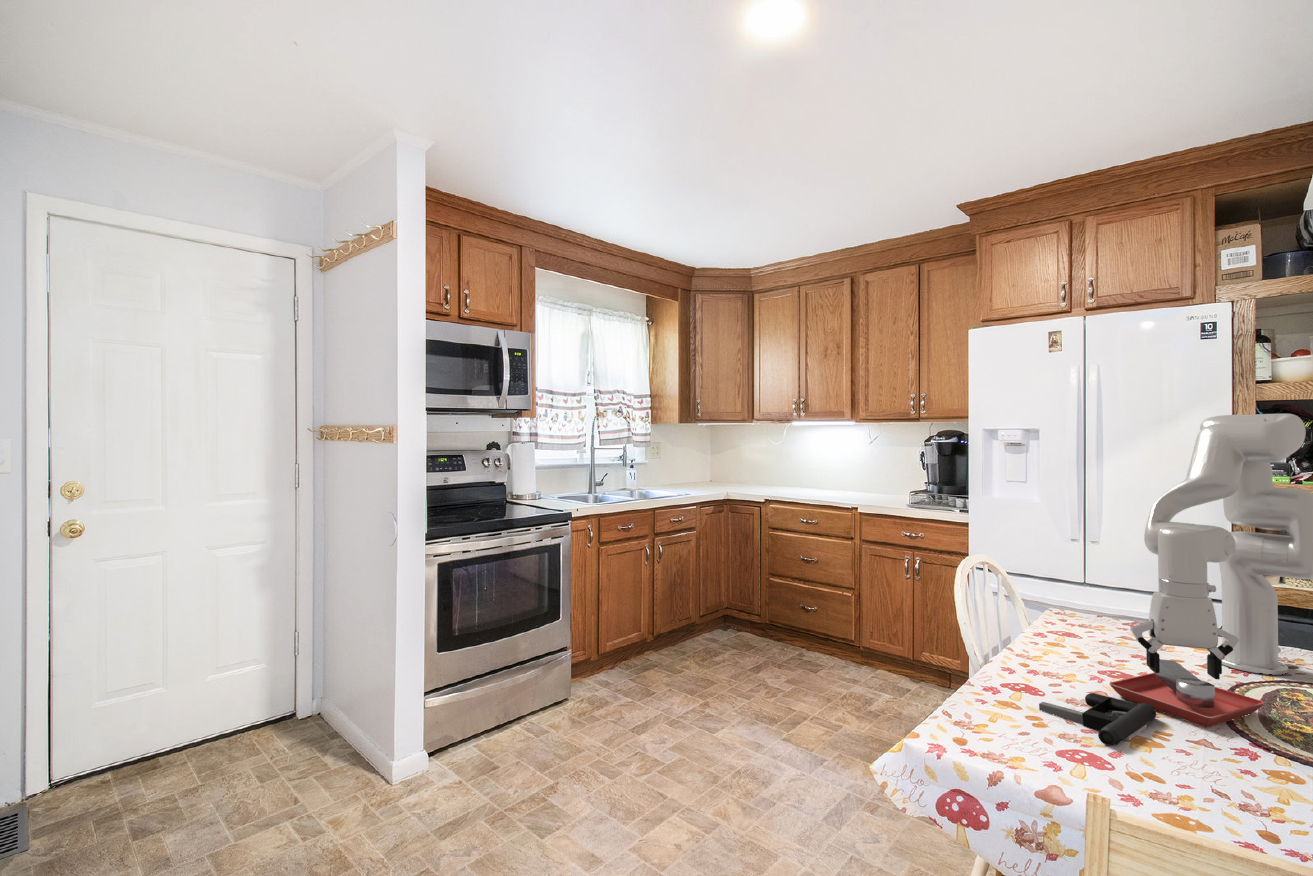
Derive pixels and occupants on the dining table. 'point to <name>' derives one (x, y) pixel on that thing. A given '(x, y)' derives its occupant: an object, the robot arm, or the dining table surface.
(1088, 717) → the door handle
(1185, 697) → the ball joint lever
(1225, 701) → the plant saucer
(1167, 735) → the dining table surface
